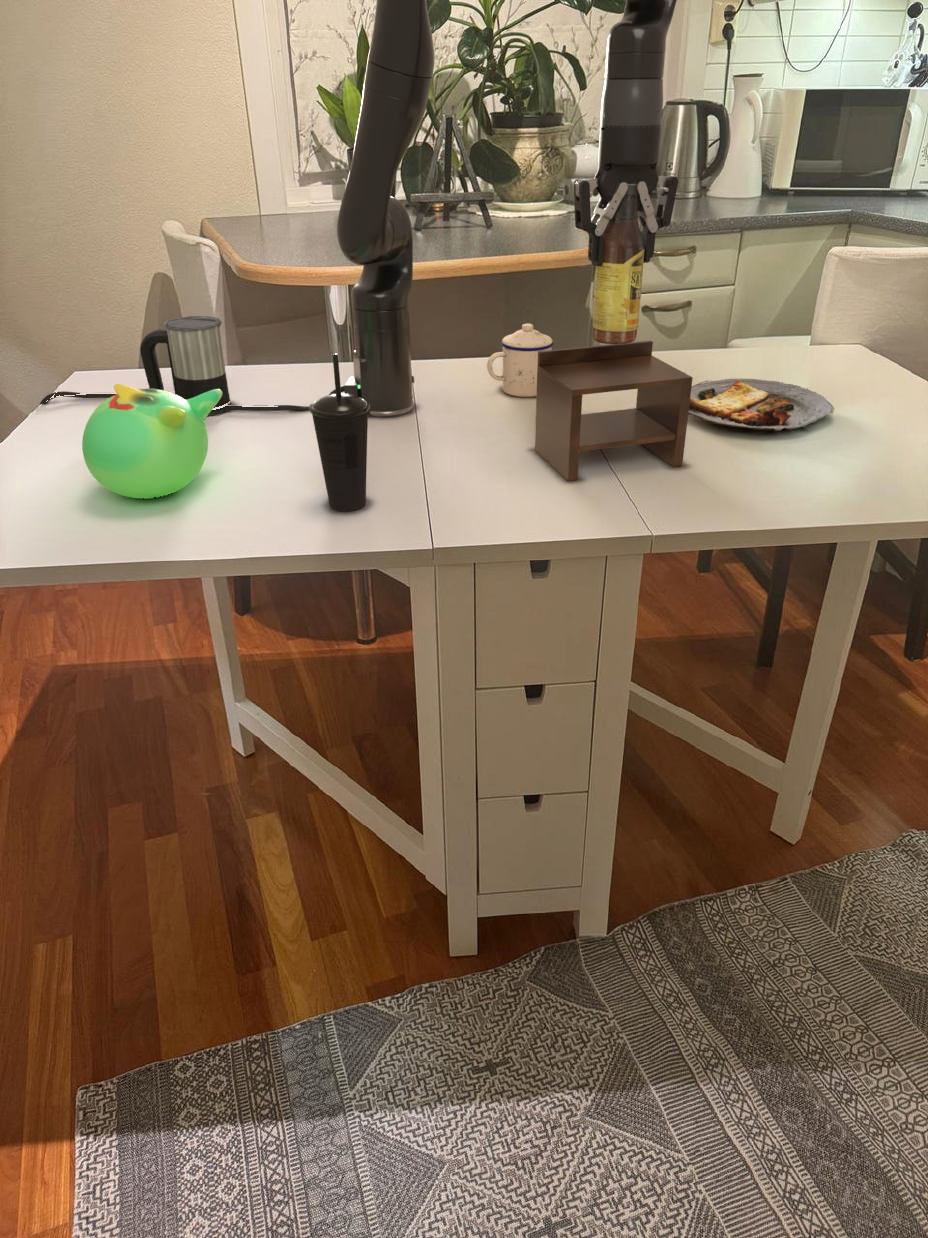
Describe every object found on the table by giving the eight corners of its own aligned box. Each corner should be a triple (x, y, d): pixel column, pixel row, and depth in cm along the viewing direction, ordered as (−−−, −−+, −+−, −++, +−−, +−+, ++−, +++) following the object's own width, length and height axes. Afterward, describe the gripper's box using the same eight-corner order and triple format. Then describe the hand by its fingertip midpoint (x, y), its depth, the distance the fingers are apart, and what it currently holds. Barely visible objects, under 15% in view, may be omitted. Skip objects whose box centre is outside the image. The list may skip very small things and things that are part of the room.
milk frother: (230, 398, 163) (218, 312, 155) (241, 425, 150) (227, 334, 143) (148, 407, 159) (131, 320, 152) (151, 436, 146) (132, 342, 139)
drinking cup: (385, 496, 124) (376, 348, 114) (362, 519, 118) (350, 364, 108) (334, 490, 126) (321, 344, 116) (309, 511, 120) (292, 359, 110)
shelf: (567, 481, 128) (573, 375, 120) (534, 450, 139) (537, 350, 131) (682, 465, 133) (694, 362, 125) (641, 436, 143) (650, 340, 136)
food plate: (769, 450, 137) (773, 428, 136) (647, 414, 153) (649, 393, 151) (854, 414, 151) (858, 393, 150) (734, 384, 167) (737, 365, 165)
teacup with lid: (539, 380, 170) (541, 316, 164) (559, 394, 163) (562, 327, 157) (479, 387, 167) (478, 322, 161) (496, 402, 159) (496, 334, 153)
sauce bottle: (636, 347, 124) (649, 186, 113) (589, 345, 125) (599, 185, 114) (637, 335, 129) (651, 180, 119) (593, 333, 130) (603, 180, 120)
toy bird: (123, 466, 135) (102, 367, 127) (236, 466, 134) (221, 367, 127) (75, 517, 119) (47, 408, 112) (202, 517, 119) (183, 407, 111)
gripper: (668, 118, 118) (655, 255, 127) (565, 121, 114) (559, 262, 123) (697, 120, 112) (682, 265, 120) (589, 123, 108) (581, 272, 117)
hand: (620, 263), depth 122 cm, fingers closed on sauce bottle, 6 cm apart
